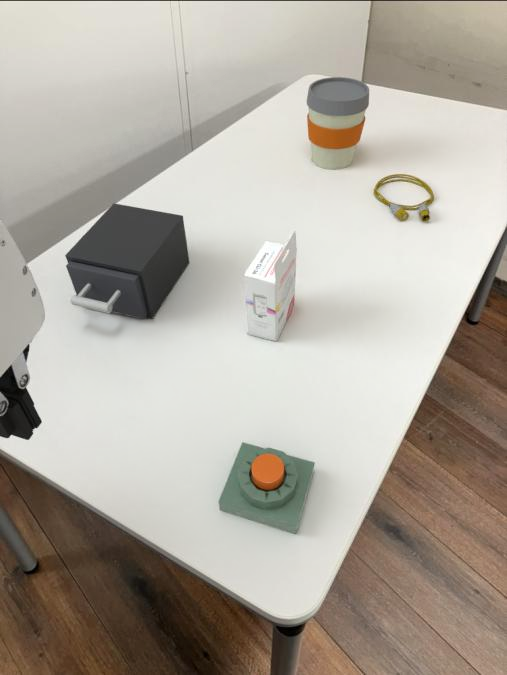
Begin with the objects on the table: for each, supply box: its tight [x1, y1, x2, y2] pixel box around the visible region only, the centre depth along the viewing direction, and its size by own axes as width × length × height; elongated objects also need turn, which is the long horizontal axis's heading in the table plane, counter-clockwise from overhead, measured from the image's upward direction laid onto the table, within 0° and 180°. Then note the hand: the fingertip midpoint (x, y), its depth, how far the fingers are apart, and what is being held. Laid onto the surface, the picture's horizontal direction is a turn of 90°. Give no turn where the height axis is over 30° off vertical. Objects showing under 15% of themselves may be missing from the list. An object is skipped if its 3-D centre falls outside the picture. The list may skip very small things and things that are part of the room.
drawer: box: [65, 261, 148, 320], centre depth 80 cm, size 18×11×8 cm, turn 161°
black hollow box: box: [64, 203, 190, 320], centre depth 82 cm, size 15×13×10 cm
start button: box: [251, 454, 284, 490], centre depth 56 cm, size 4×4×2 cm
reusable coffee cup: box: [306, 76, 370, 170], centre depth 107 cm, size 13×13×15 cm
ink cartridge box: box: [243, 230, 298, 342], centre depth 73 cm, size 9×5×15 cm, turn 158°
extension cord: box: [373, 173, 435, 222], centre depth 100 cm, size 12×16×2 cm
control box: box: [218, 441, 316, 535], centre depth 58 cm, size 9×8×4 cm
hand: (18, 426), depth 38 cm, fingers closed
